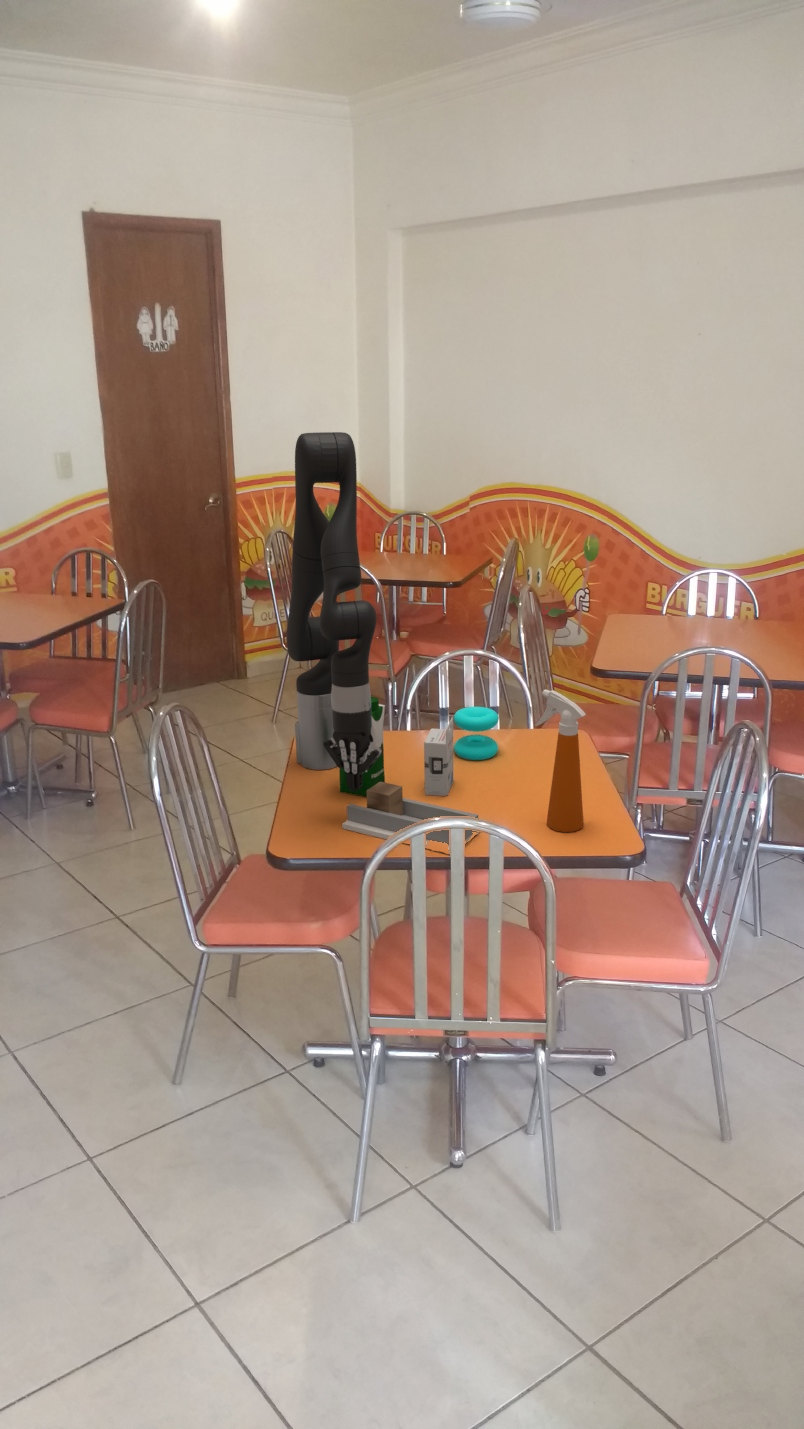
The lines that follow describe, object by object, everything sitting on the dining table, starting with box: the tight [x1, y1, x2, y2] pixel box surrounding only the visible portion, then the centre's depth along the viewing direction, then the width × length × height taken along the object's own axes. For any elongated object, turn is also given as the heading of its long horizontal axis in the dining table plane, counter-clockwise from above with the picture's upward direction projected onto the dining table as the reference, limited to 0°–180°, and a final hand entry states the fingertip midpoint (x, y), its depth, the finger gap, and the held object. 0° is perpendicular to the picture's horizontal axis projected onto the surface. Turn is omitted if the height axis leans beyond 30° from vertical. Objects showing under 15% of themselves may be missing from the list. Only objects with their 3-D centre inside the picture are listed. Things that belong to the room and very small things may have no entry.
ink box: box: [423, 716, 454, 797], centre depth 215 cm, size 9×5×15 cm, turn 168°
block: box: [366, 781, 404, 816], centre depth 200 cm, size 5×5×6 cm
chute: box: [341, 797, 480, 851], centre depth 198 cm, size 24×12×4 cm, turn 59°
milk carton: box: [338, 696, 386, 798], centre depth 214 cm, size 9×9×20 cm
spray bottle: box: [533, 689, 586, 833], centre depth 196 cm, size 7×11×26 cm, turn 50°
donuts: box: [453, 706, 499, 761], centre depth 233 cm, size 10×10×10 cm
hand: (354, 789), depth 203 cm, fingers closed
